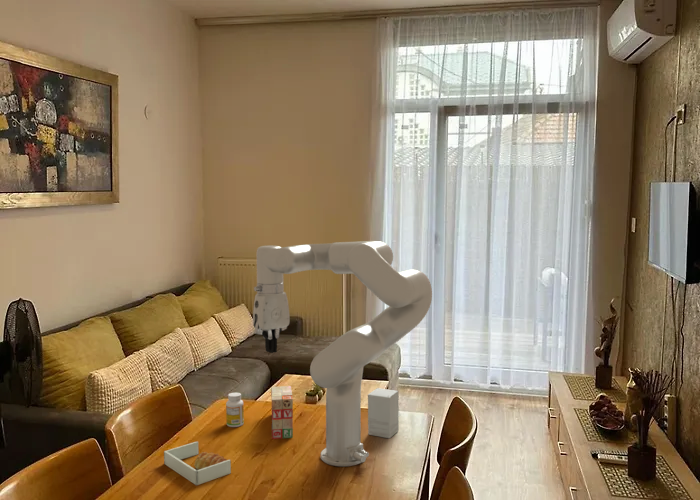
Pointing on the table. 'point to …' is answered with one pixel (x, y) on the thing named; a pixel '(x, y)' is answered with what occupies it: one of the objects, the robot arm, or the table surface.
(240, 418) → the supplement bottle
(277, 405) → the stack of blocks
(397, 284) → the robot arm
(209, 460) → the pastry
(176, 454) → the frame
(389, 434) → the supplement box
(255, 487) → the table surface
